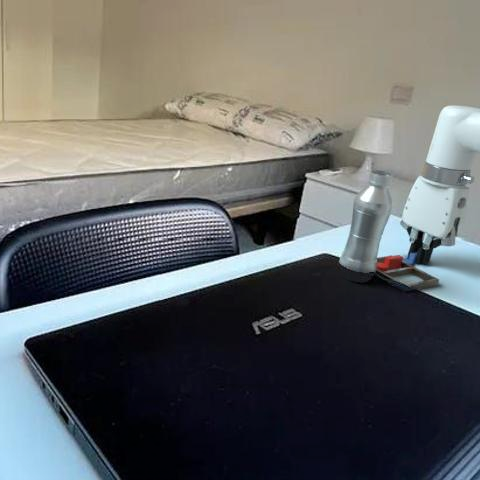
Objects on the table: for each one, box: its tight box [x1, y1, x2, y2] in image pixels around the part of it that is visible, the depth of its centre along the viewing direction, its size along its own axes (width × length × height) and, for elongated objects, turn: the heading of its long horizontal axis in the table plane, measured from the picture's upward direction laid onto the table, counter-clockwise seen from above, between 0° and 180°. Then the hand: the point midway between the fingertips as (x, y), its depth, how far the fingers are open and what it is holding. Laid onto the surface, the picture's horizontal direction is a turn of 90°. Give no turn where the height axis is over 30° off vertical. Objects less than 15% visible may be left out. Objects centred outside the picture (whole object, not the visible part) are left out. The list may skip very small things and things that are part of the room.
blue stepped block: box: [402, 252, 418, 266], centre depth 99 cm, size 6×2×2 cm, turn 116°
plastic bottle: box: [338, 169, 395, 273], centre depth 87 cm, size 6×7×20 cm
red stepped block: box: [376, 254, 404, 272], centre depth 94 cm, size 6×2×2 cm, turn 116°
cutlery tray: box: [375, 255, 440, 291], centre depth 92 cm, size 9×11×2 cm
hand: (416, 263), depth 100 cm, fingers closed on blue stepped block, 1 cm apart
